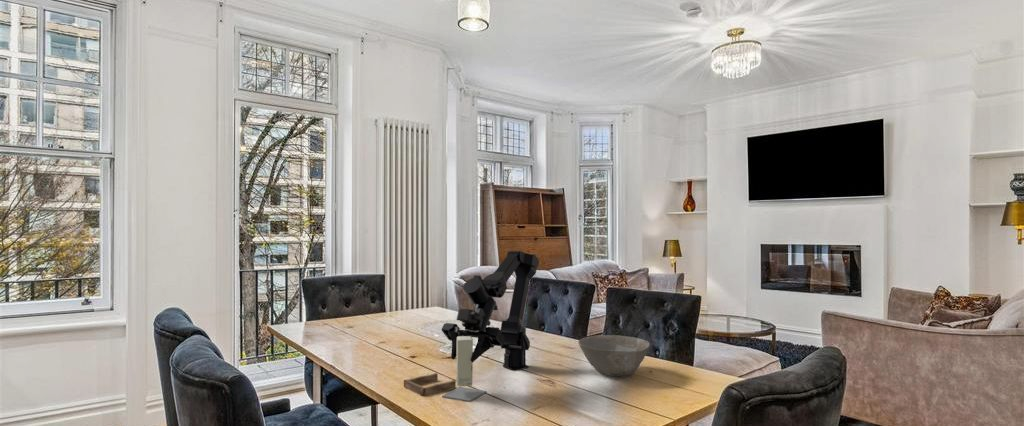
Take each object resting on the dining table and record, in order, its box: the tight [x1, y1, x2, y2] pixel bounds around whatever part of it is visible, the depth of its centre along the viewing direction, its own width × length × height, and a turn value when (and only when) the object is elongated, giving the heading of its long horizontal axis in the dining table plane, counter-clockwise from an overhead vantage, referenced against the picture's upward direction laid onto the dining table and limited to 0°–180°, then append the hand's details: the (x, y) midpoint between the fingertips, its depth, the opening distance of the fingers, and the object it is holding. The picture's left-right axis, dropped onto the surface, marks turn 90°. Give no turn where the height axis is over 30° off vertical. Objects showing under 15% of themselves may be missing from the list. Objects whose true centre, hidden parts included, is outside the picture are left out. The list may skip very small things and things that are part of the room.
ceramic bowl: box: [577, 334, 651, 377], centre depth 166 cm, size 22×23×10 cm
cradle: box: [403, 372, 457, 397], centre depth 154 cm, size 11×11×2 cm
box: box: [455, 336, 474, 387], centre depth 147 cm, size 5×4×13 cm
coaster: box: [441, 386, 487, 403], centre depth 147 cm, size 9×9×1 cm
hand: (461, 360), depth 146 cm, fingers closed on box, 6 cm apart
